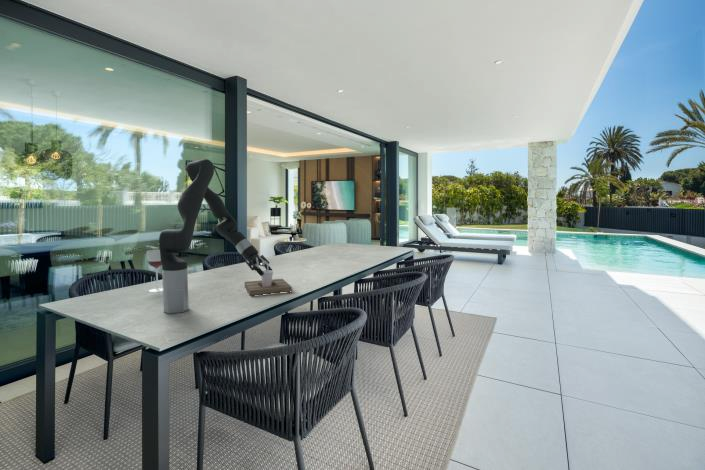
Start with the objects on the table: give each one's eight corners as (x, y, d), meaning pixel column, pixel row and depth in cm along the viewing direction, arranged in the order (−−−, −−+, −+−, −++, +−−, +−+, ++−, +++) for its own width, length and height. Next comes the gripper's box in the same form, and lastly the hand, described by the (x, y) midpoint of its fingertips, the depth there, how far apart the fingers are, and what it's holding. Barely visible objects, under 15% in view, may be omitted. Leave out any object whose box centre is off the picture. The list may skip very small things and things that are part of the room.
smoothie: (270, 291, 178) (269, 264, 176) (258, 291, 179) (257, 263, 178) (275, 288, 184) (275, 262, 183) (263, 288, 185) (263, 261, 184)
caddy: (291, 292, 177) (291, 286, 176) (250, 296, 168) (250, 290, 168) (282, 284, 195) (282, 278, 195) (244, 287, 187) (244, 281, 186)
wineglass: (170, 288, 183) (168, 249, 181) (159, 292, 174) (157, 252, 172) (155, 287, 184) (154, 249, 182) (144, 291, 175) (142, 251, 173)
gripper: (243, 246, 175) (264, 271, 173) (258, 243, 189) (278, 266, 187) (234, 256, 177) (254, 280, 175) (250, 252, 191) (269, 275, 189)
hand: (267, 273), depth 181 cm, fingers open, 8 cm apart
